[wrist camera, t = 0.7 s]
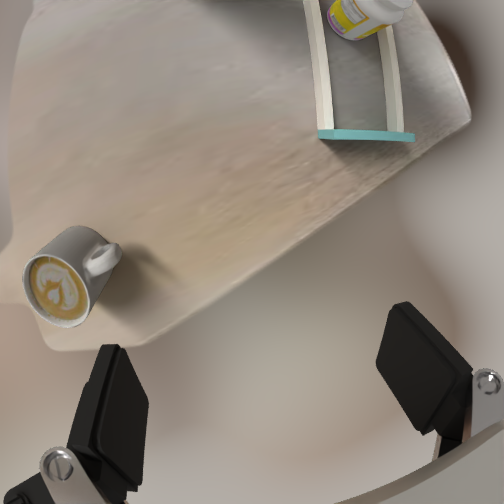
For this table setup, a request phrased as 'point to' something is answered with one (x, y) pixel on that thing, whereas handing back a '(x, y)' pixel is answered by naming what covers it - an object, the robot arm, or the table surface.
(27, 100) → the table surface
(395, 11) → the supplement bottle
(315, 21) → the guide track
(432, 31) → the table surface
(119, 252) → the coffee mug
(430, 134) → the table surface
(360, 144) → the table surface
